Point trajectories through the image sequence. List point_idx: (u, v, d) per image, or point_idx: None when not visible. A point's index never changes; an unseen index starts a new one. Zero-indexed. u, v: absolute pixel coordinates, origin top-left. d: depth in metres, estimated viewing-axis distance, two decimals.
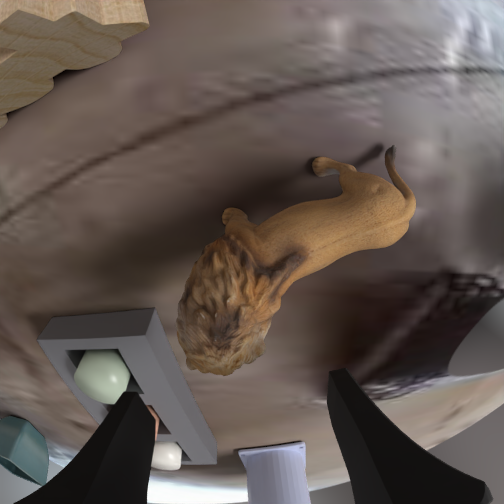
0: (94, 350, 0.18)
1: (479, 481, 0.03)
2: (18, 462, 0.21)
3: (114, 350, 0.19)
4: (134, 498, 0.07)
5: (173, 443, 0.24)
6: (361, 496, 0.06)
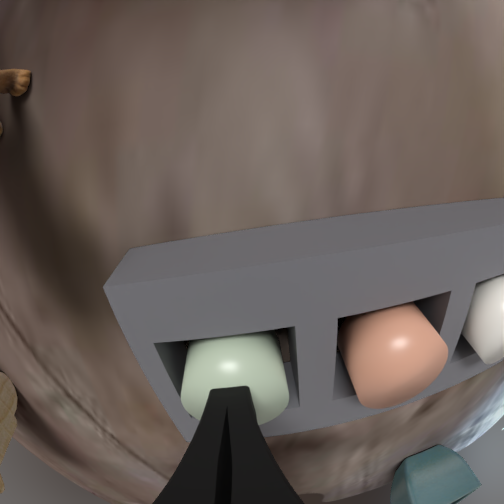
0: None
1: None
2: None
3: None
4: None
5: (483, 288, 0.10)
6: None
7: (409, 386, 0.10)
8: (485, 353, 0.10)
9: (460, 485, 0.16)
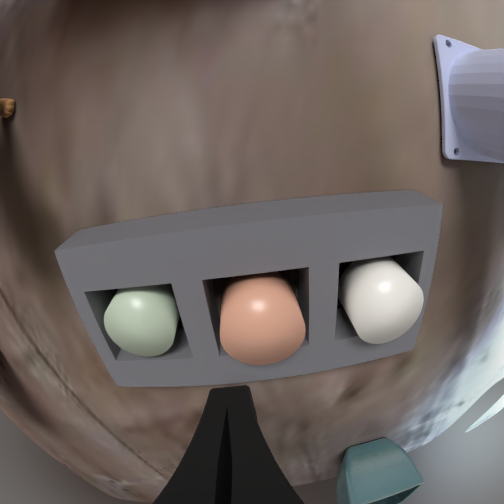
0: None
1: None
2: (366, 498, 0.20)
3: None
4: None
5: (359, 270, 0.15)
6: None
7: (272, 347, 0.14)
8: (359, 330, 0.14)
9: (401, 479, 0.21)
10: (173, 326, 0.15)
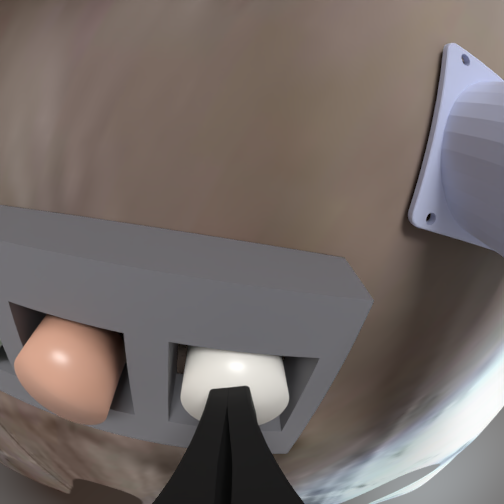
0: None
1: None
2: None
3: None
4: None
5: None
6: None
7: (72, 409, 0.08)
8: (187, 407, 0.10)
9: None
10: None
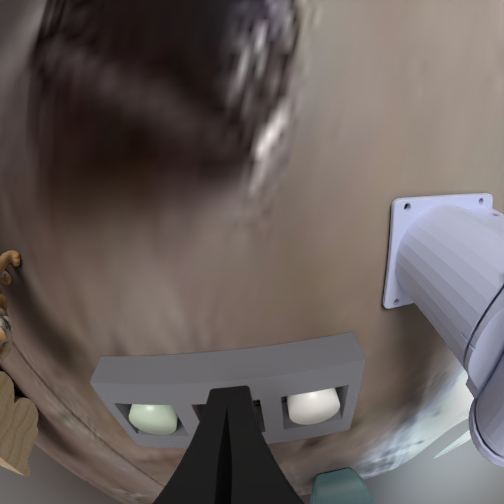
0: None
1: None
2: None
3: None
4: None
5: None
6: None
7: None
8: (293, 419, 0.20)
9: None
10: (175, 422, 0.20)
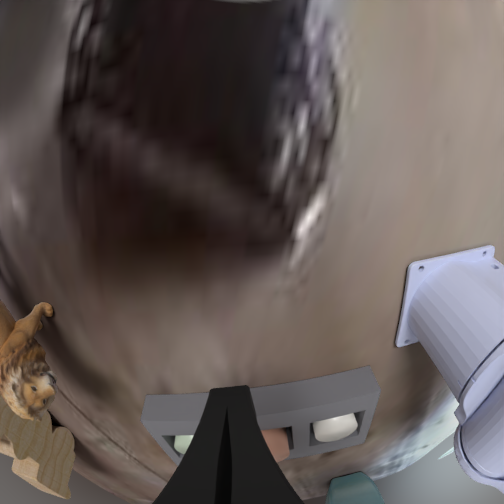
0: None
1: None
2: None
3: None
4: None
5: None
6: None
7: None
8: (318, 438, 0.23)
9: None
10: None
